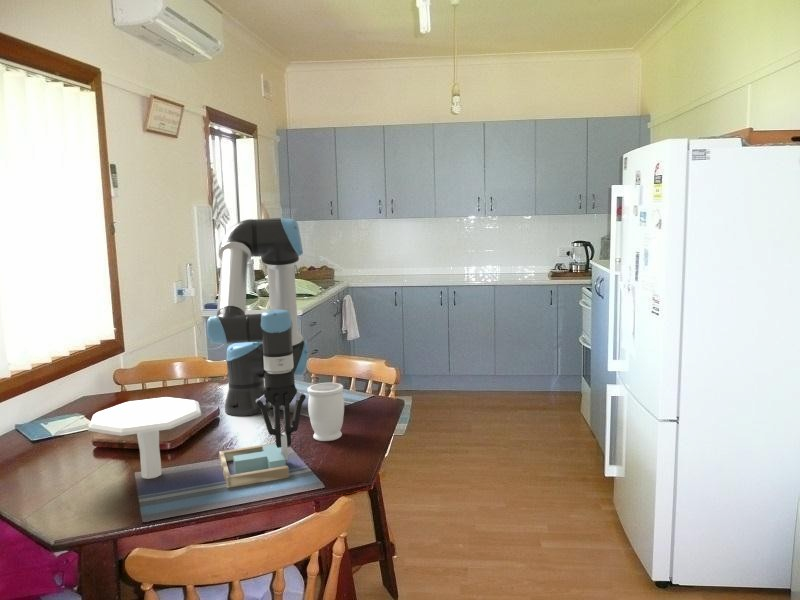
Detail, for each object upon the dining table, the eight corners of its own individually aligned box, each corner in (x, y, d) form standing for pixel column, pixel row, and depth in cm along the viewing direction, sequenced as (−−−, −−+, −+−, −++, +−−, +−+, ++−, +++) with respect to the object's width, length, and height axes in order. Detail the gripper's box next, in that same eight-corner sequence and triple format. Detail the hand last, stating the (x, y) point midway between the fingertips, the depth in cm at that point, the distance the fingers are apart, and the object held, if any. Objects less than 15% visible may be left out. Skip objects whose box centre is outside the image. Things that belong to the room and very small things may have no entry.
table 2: (123, 455, 176) (117, 396, 174) (223, 453, 175) (218, 394, 173) (67, 500, 149) (60, 431, 146) (186, 498, 148) (180, 429, 146)
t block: (232, 463, 168) (231, 450, 168) (277, 456, 172) (277, 443, 172) (237, 480, 157) (236, 467, 156) (286, 472, 161) (285, 459, 161)
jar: (339, 443, 180) (337, 392, 178) (304, 442, 182) (301, 391, 180) (349, 431, 190) (347, 382, 188) (316, 429, 192) (314, 381, 190)
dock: (219, 460, 170) (219, 451, 170) (276, 451, 175) (275, 442, 175) (226, 488, 153) (226, 478, 152) (289, 477, 158) (288, 467, 158)
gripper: (255, 376, 158) (261, 467, 161) (307, 370, 162) (311, 459, 165) (251, 370, 165) (257, 457, 168) (301, 364, 169) (305, 449, 172)
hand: (284, 458), depth 167 cm, fingers closed
